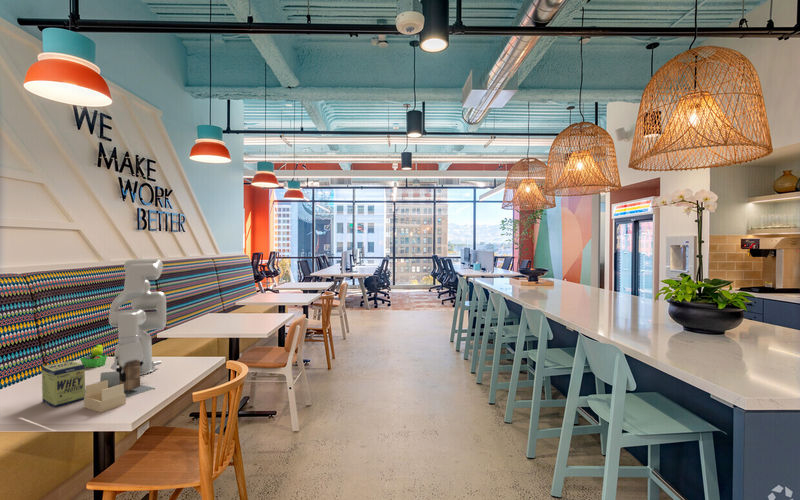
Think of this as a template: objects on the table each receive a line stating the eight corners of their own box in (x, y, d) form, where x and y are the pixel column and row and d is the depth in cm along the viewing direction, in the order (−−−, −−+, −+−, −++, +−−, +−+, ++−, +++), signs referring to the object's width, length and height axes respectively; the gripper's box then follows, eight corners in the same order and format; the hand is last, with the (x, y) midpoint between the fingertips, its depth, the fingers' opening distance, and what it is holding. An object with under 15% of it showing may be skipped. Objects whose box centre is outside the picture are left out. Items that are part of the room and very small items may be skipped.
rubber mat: (137, 385, 187) (136, 383, 187) (154, 389, 181) (154, 388, 181) (104, 395, 174) (104, 393, 174) (122, 400, 168) (122, 398, 168)
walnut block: (131, 384, 181) (130, 359, 181) (140, 386, 178) (139, 360, 178) (119, 388, 177) (118, 361, 177) (128, 390, 174) (127, 363, 174)
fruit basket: (78, 367, 218) (78, 347, 218) (93, 362, 227) (93, 343, 227) (96, 368, 216) (95, 347, 216) (110, 363, 225) (110, 344, 225)
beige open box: (109, 400, 168) (108, 379, 168) (125, 404, 163) (125, 383, 163) (84, 408, 160) (83, 386, 160) (100, 413, 154) (100, 390, 154)
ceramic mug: (121, 387, 184) (121, 371, 184) (100, 391, 179) (99, 375, 179) (121, 382, 192) (121, 366, 192) (100, 385, 187) (100, 369, 188)
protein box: (55, 409, 160) (54, 371, 160) (41, 401, 168) (40, 365, 168) (86, 400, 169) (85, 364, 169) (71, 393, 177) (71, 359, 177)
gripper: (143, 335, 187) (144, 372, 187) (103, 343, 171) (104, 384, 171) (152, 336, 183) (153, 374, 183) (112, 344, 168) (113, 386, 168)
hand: (129, 379), depth 177 cm, fingers closed on walnut block, 5 cm apart
